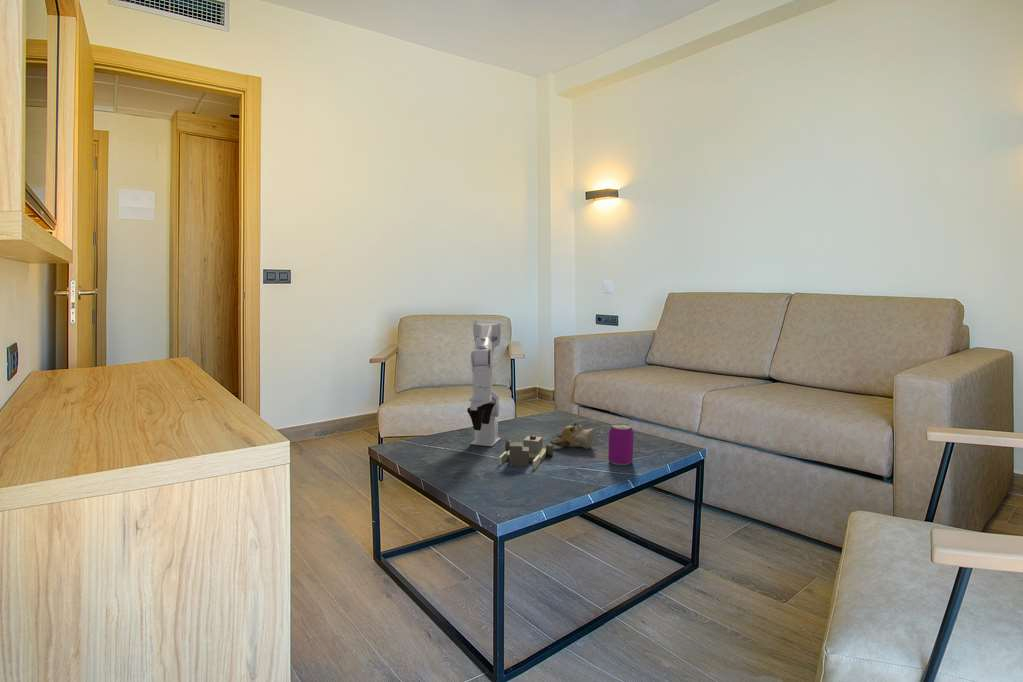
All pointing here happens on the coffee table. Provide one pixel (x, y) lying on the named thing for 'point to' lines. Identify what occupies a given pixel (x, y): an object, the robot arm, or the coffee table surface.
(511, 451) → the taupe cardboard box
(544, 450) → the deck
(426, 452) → the coffee table surface
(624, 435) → the beverage can
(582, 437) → the ceramic sculpture
